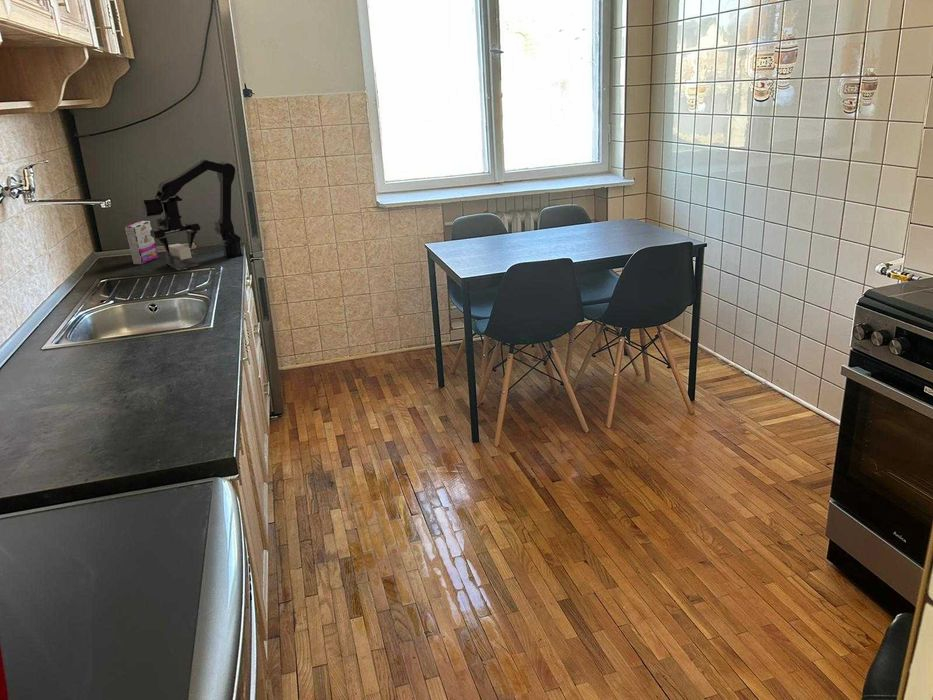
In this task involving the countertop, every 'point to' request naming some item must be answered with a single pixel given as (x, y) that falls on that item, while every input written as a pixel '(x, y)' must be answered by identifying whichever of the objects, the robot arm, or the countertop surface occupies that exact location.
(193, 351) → the countertop surface
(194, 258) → the dark grey angular piece
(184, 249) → the clay block
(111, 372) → the countertop surface
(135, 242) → the candy bar box
